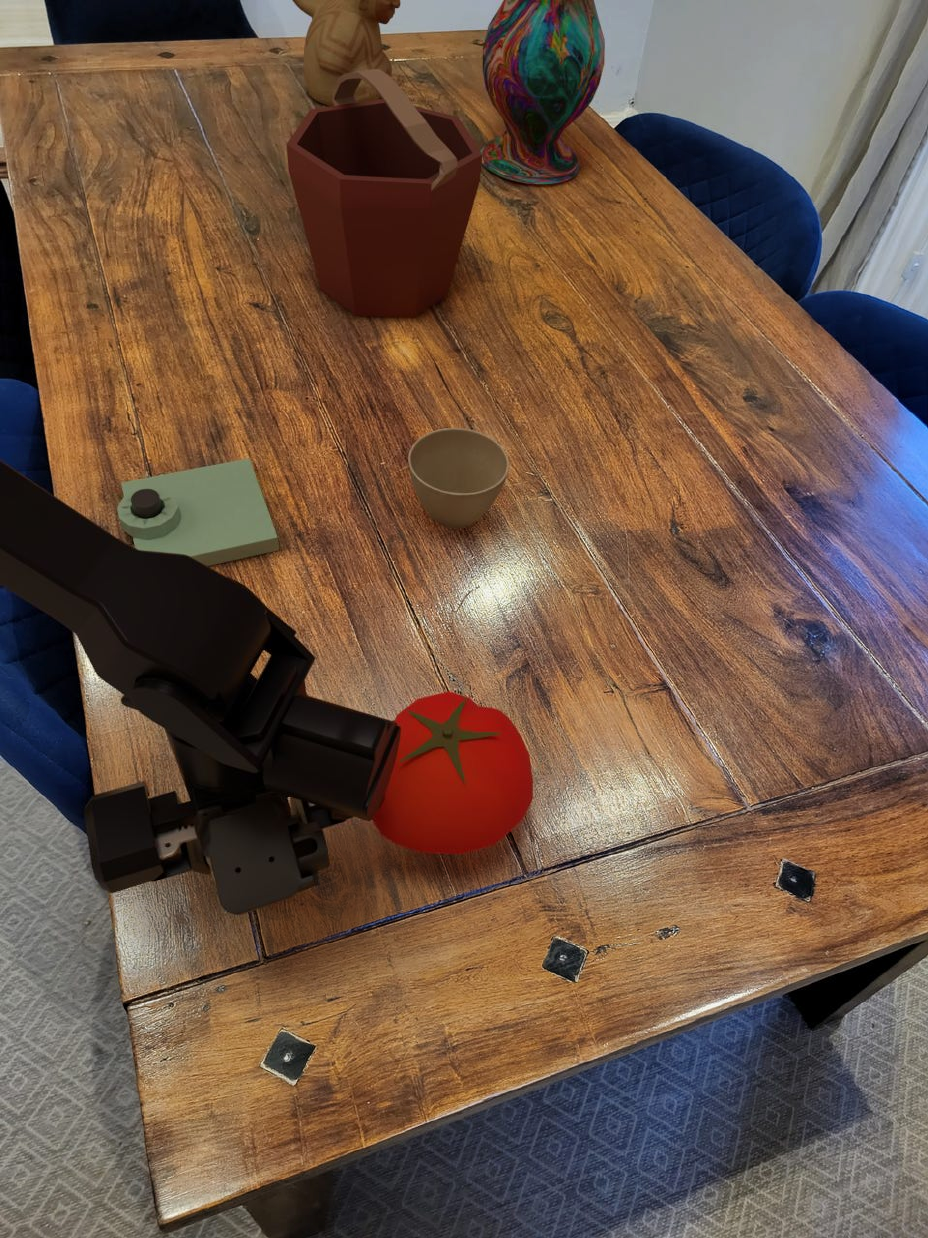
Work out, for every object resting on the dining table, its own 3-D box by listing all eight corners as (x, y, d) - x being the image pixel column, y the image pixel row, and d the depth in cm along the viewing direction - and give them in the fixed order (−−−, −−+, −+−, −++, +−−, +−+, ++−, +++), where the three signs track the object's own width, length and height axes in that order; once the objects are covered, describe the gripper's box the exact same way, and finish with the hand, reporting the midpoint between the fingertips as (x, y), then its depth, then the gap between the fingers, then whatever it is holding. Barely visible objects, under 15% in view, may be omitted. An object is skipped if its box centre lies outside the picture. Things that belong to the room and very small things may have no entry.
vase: (586, 145, 149) (624, -73, 126) (584, 196, 138) (626, -34, 114) (479, 132, 149) (498, -89, 126) (468, 181, 138) (486, -51, 114)
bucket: (486, 329, 113) (508, 123, 93) (315, 347, 108) (301, 132, 88) (436, 233, 127) (446, 36, 107) (283, 244, 122) (265, 40, 102)
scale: (135, 582, 82) (127, 557, 80) (117, 497, 89) (109, 471, 86) (279, 550, 86) (276, 525, 84) (251, 471, 93) (247, 445, 90)
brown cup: (516, 534, 90) (525, 482, 85) (425, 555, 87) (428, 503, 82) (480, 471, 96) (486, 418, 90) (393, 489, 93) (394, 436, 87)
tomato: (508, 731, 75) (523, 659, 67) (537, 868, 68) (559, 806, 60) (352, 746, 73) (349, 674, 65) (365, 889, 66) (363, 827, 58)
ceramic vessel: (385, 123, 148) (386, -57, 129) (275, 103, 150) (259, -78, 131) (411, 86, 159) (416, -86, 139) (309, 68, 161) (299, -105, 141)
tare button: (136, 521, 83) (132, 509, 82) (132, 503, 84) (128, 491, 83) (164, 516, 84) (161, 504, 83) (159, 497, 85) (156, 486, 84)
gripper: (76, 925, 45) (140, 1008, 58) (415, 816, 51) (408, 913, 63) (54, 748, 52) (116, 856, 64) (358, 667, 57) (362, 781, 69)
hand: (253, 853), depth 65 cm, fingers closed on bowl, 6 cm apart
